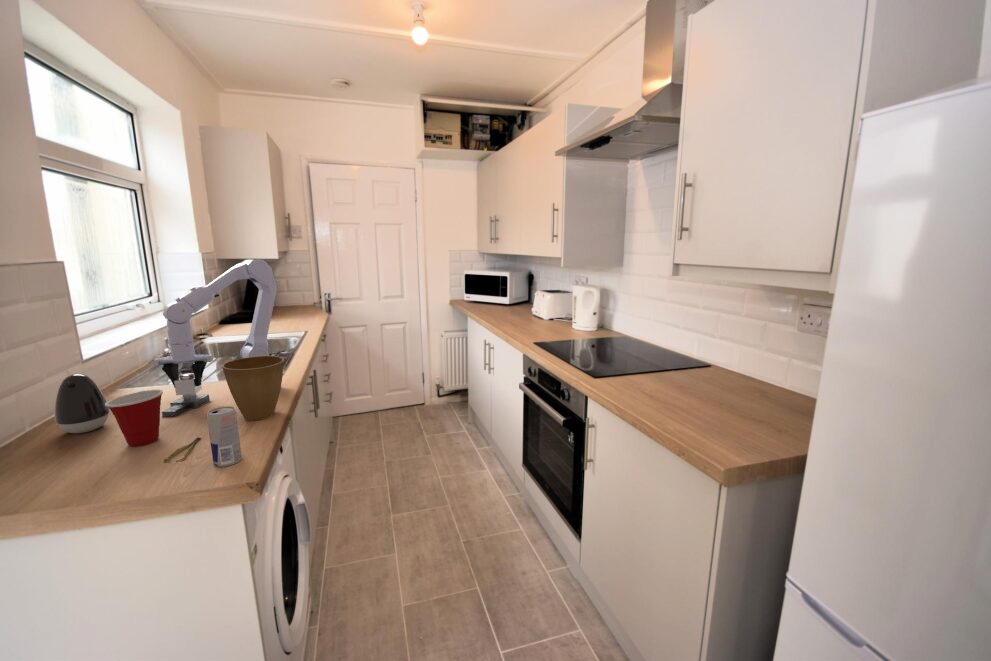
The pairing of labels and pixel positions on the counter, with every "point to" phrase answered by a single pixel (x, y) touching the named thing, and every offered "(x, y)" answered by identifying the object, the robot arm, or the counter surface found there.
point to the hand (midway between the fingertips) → (188, 386)
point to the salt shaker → (186, 368)
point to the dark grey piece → (185, 404)
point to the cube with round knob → (186, 384)
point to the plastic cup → (138, 416)
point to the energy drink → (224, 436)
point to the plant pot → (255, 384)
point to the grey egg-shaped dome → (80, 405)
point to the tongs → (182, 450)
